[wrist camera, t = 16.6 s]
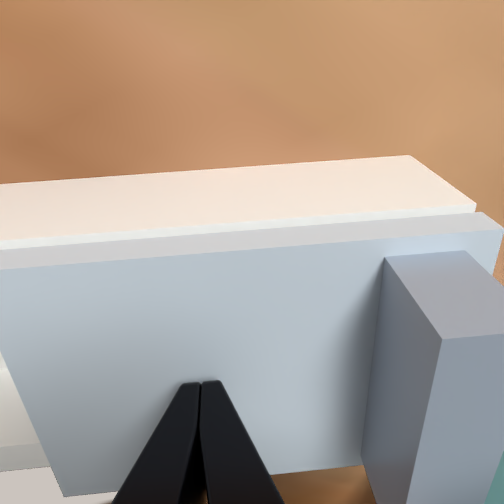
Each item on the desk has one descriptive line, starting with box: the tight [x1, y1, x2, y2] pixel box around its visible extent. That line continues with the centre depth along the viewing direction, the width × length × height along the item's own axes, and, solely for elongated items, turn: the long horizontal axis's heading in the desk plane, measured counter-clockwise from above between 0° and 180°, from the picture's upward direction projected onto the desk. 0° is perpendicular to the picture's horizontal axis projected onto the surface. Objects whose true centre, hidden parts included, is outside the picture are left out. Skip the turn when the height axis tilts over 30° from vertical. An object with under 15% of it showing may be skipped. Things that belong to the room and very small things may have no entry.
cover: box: [0, 212, 504, 504], centre depth 9 cm, size 10×7×3 cm
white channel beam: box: [0, 155, 476, 472], centre depth 12 cm, size 13×7×4 cm, turn 93°
